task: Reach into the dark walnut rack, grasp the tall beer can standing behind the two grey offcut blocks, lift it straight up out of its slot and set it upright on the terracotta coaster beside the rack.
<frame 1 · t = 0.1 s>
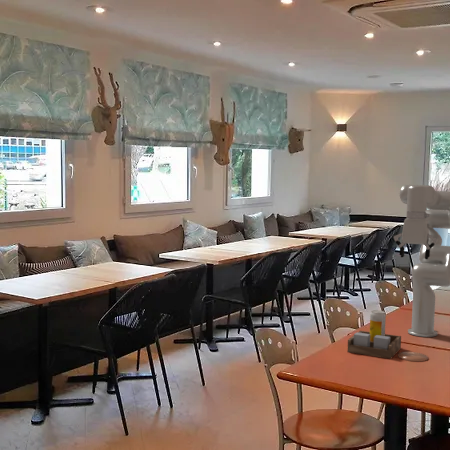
hand: (414, 257, 254), 37 cm above the table, tool pointing down, fingers open, 9 cm apart
offcut 2: (381, 354, 244), resting in rack
rack: (374, 350, 250), on the table
coaster: (412, 357, 241), on the table
beer can: (376, 348, 253), resting in rack
offcut 1: (361, 351, 248), resting in rack
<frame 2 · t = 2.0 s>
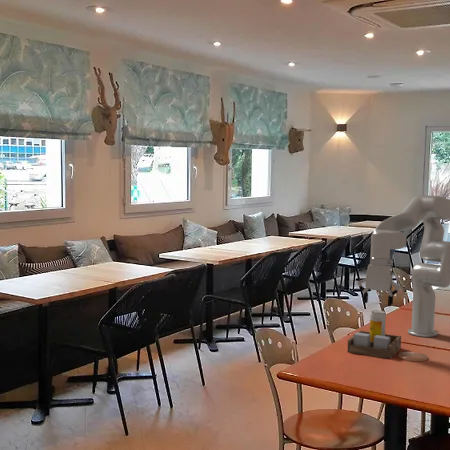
hand: (377, 304, 251), 18 cm above the table, tool pointing down, fingers open, 9 cm apart
nothing on the table moved.
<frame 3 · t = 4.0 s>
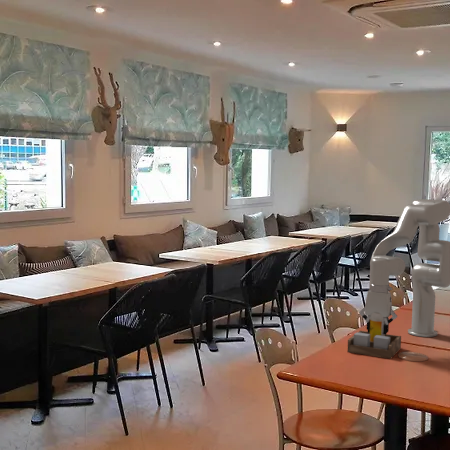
hand: (377, 332, 253), 7 cm above the table, tool pointing down, fingers closed on beer can, 5 cm apart
beer can: (376, 348, 253), resting in rack, touching gripper
everything else where it was.
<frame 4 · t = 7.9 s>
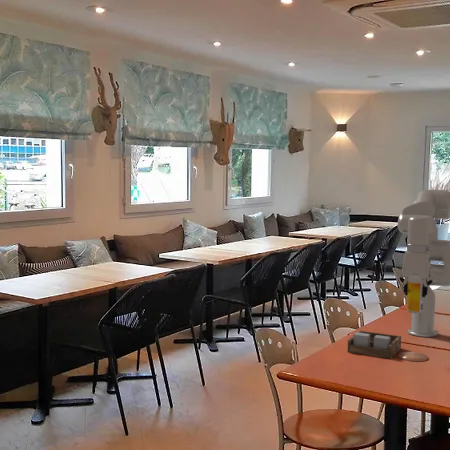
hand: (415, 295, 239), 24 cm above the table, tool pointing down, fingers closed on beer can, 5 cm apart
beer can: (414, 312, 240), point 18 cm above the table, touching gripper
everything else where it was.
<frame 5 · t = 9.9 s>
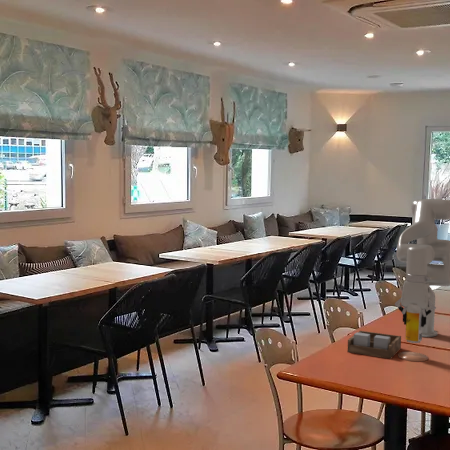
hand: (414, 324, 240), 13 cm above the table, tool pointing down, fingers closed on beer can, 5 cm apart
beer can: (413, 341, 240), point 6 cm above the table, touching gripper
everything else where it was.
when the fingers open (8 cm above the table, at t = 11.7 s): beer can drops 1 cm, resting on coaster.
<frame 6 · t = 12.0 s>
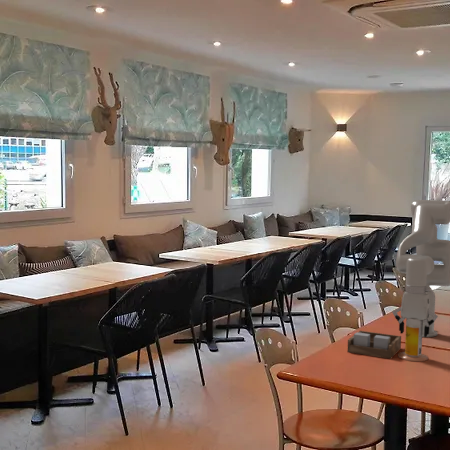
hand: (413, 334, 240), 9 cm above the table, tool pointing down, fingers open, 8 cm apart
beer can: (413, 355, 241), resting on coaster
everything else where it was.
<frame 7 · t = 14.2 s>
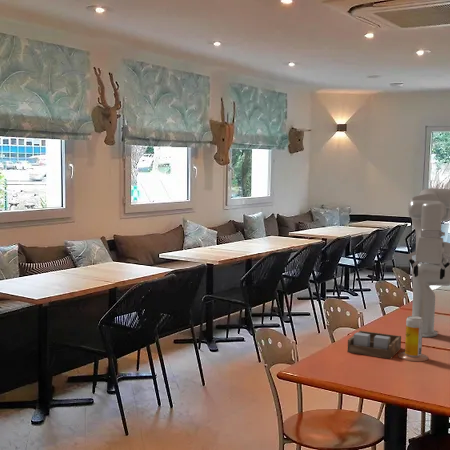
hand: (428, 277, 245), 30 cm above the table, tool pointing down, fingers open, 9 cm apart
nothing on the table moved.
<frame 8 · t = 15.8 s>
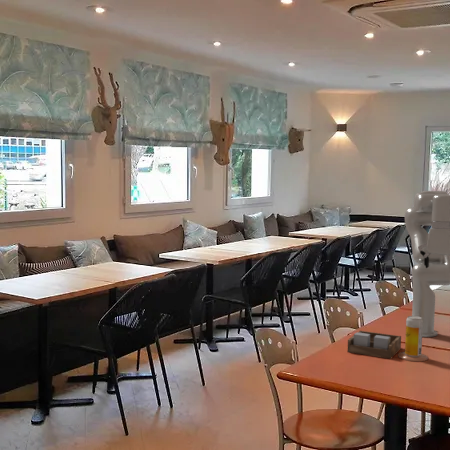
hand: (439, 268, 249), 33 cm above the table, tool pointing down, fingers open, 9 cm apart
nothing on the table moved.
at the end: beer can 0.3 cm off-centre on the coaster, point 0.4 cm above the coaster's base; beer can tilted 0°; the gripper is holding nothing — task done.
